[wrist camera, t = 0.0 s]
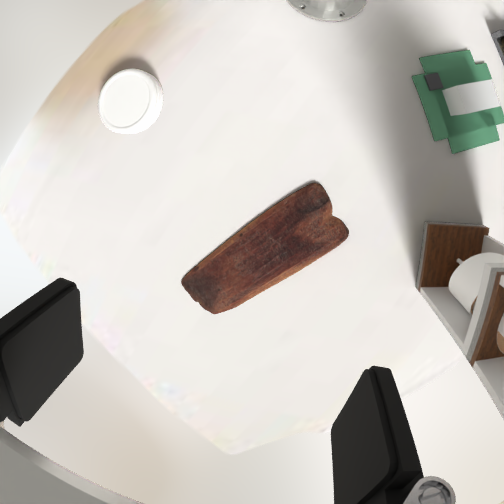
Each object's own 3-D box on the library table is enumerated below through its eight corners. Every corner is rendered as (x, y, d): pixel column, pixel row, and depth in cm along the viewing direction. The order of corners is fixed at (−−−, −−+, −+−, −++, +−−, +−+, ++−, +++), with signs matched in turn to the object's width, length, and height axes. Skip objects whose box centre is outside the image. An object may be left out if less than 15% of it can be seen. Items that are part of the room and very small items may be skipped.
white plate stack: (101, 126, 44) (88, 125, 41) (119, 67, 41) (108, 63, 38) (152, 140, 44) (142, 140, 41) (173, 78, 41) (165, 73, 38)
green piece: (404, 61, 36) (418, 51, 30) (477, 50, 33) (495, 42, 27) (437, 157, 40) (455, 159, 34) (506, 137, 37) (527, 138, 31)
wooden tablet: (210, 324, 51) (169, 280, 48) (212, 317, 53) (173, 273, 50) (355, 237, 44) (318, 179, 41) (351, 232, 46) (316, 176, 43)
